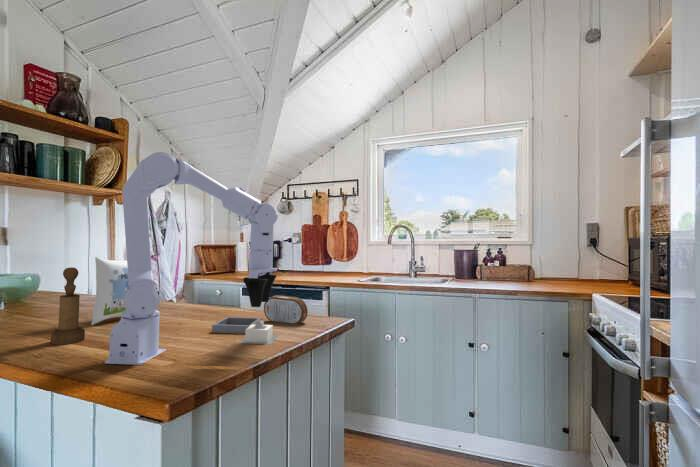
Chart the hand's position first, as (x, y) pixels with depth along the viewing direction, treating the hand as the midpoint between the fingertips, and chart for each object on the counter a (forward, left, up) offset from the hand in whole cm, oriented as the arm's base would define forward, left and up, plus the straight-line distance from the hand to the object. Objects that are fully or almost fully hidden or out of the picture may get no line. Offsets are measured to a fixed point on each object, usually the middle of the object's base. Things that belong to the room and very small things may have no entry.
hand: (260, 304), depth 93 cm
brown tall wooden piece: (-5, +46, -10) cm, 47 cm away
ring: (0, 0, -9) cm, 9 cm away
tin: (+21, -2, -10) cm, 24 cm away
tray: (+10, +9, -9) cm, 17 cm away
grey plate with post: (0, 0, -9) cm, 9 cm away
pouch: (+20, +49, -10) cm, 54 cm away
